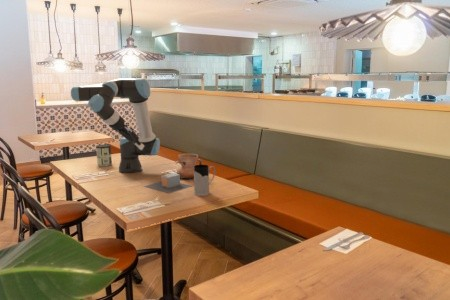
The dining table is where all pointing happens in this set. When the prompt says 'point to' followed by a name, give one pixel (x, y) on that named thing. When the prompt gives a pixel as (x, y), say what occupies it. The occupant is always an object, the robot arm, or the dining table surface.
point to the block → (170, 180)
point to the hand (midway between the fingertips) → (142, 147)
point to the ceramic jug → (187, 165)
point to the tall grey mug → (202, 180)
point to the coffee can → (103, 155)
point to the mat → (161, 188)
